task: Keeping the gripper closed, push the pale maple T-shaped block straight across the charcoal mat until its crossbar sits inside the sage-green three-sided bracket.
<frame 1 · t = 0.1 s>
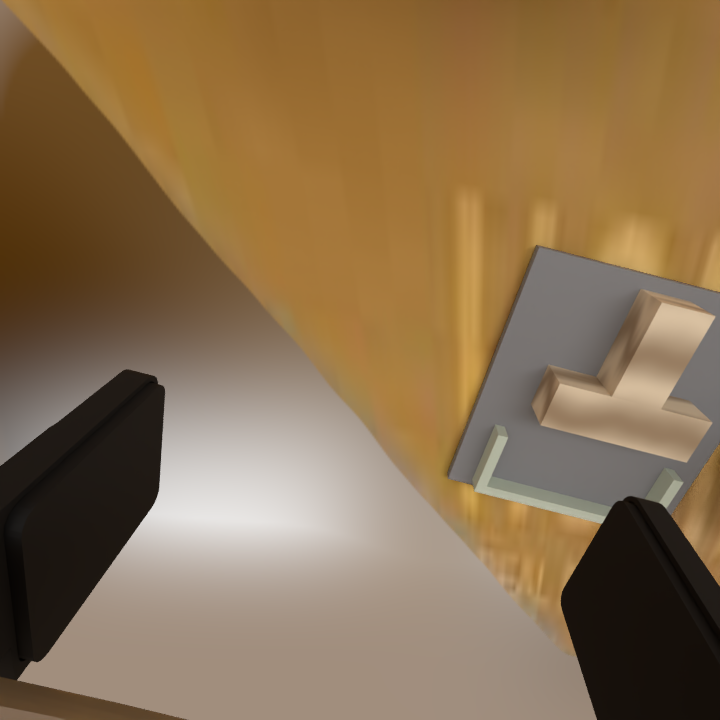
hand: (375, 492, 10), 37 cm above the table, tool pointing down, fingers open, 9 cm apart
t block: (629, 362, 45), point 1 cm above the table, touching mat
mat: (602, 401, 48), on the table
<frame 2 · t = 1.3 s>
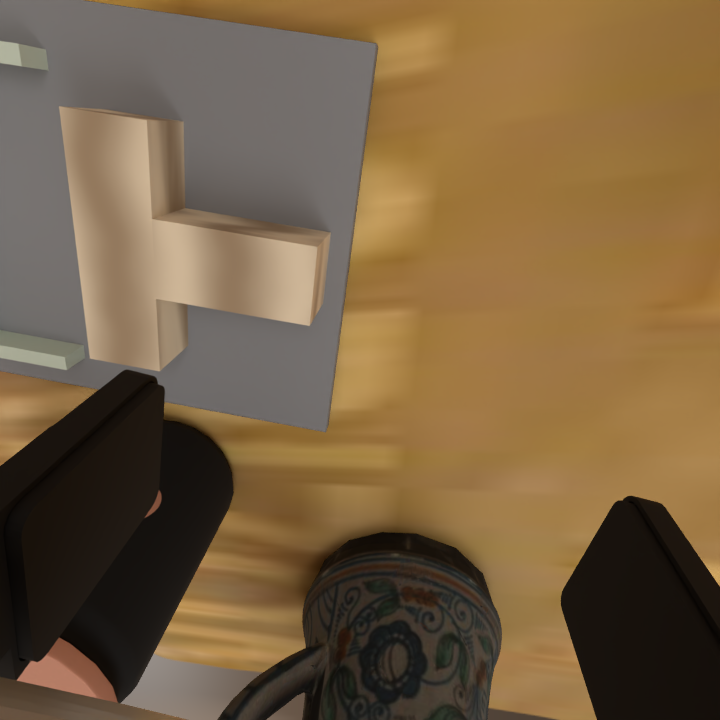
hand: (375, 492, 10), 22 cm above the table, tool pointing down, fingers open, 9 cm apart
t block: (220, 250, 30), point 1 cm above the table, touching mat
coffee jar: (177, 466, 40), on the table
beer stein: (384, 594, 43), on the table
mat: (152, 234, 31), on the table
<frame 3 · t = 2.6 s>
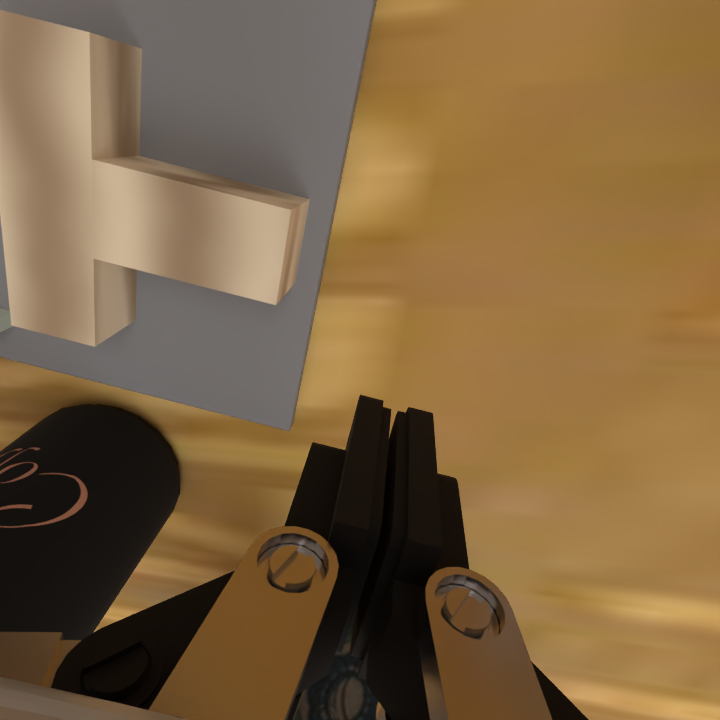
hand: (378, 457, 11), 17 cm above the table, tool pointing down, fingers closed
t block: (179, 211, 26), point 1 cm above the table, touching mat
coffee jar: (117, 459, 35), on the table
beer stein: (343, 613, 39), on the table
mat: (99, 186, 27), on the table
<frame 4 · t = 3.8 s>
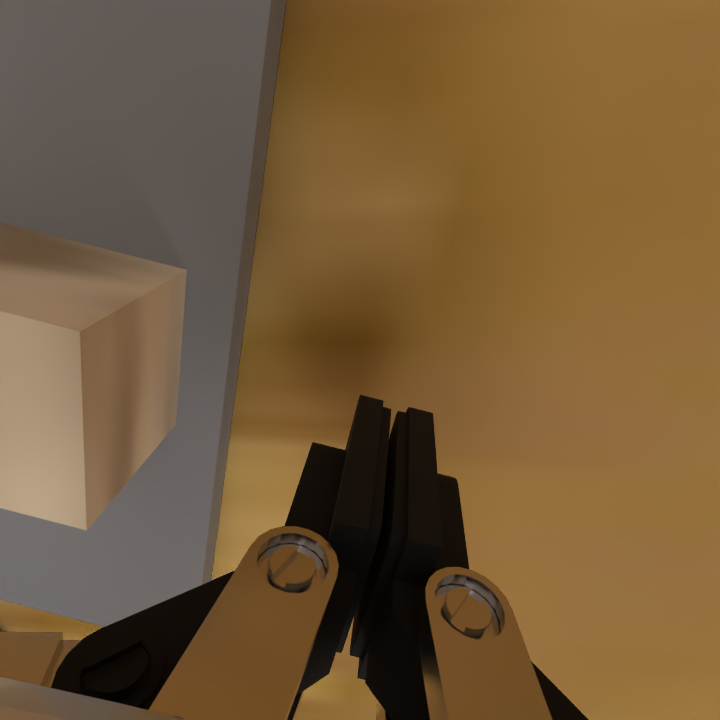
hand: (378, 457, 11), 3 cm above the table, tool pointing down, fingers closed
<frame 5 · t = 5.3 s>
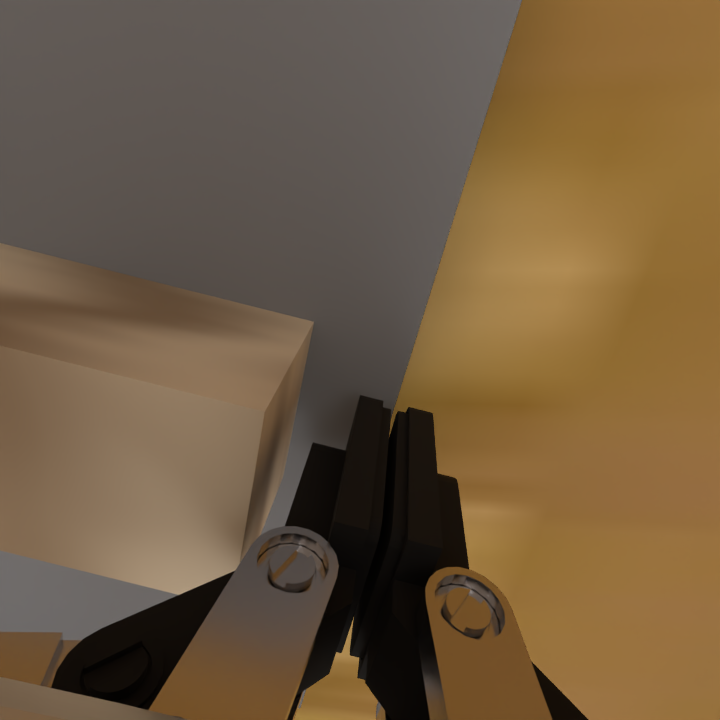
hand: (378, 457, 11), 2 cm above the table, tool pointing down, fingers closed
t block: (30, 338, 12), point 1 cm above the table, touching gripper, mat
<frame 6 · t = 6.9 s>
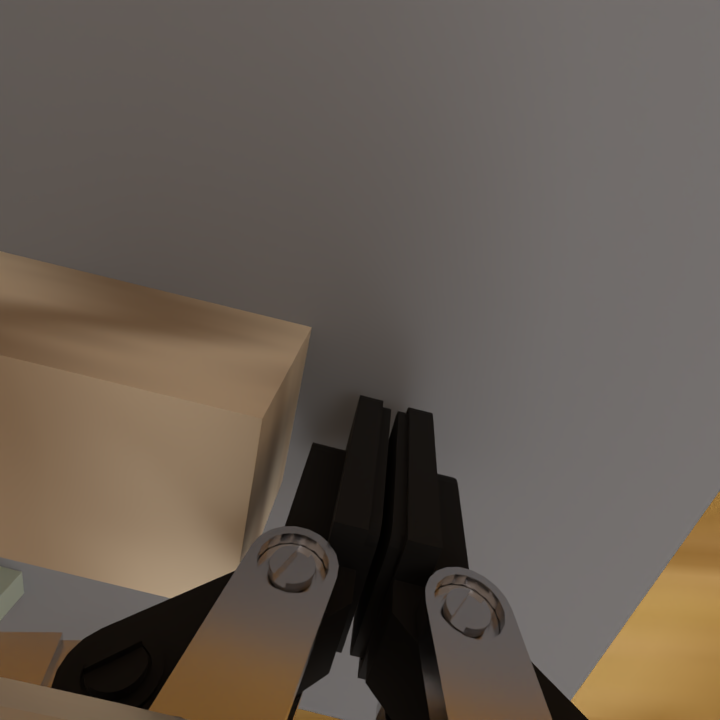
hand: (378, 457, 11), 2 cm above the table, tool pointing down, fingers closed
t block: (30, 345, 12), point 1 cm above the table, touching gripper, mat
mat: (211, 365, 13), on the table
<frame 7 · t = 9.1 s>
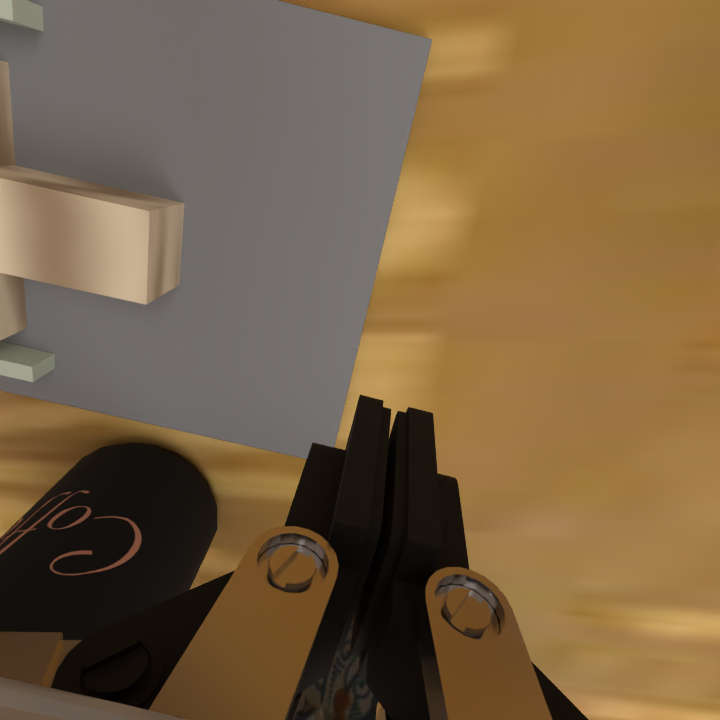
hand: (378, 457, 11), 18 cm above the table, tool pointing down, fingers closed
t block: (59, 218, 26), point 1 cm above the table, touching mat
coffee jar: (151, 496, 35), on the table
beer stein: (375, 642, 39), on the table
mat: (149, 232, 27), on the table
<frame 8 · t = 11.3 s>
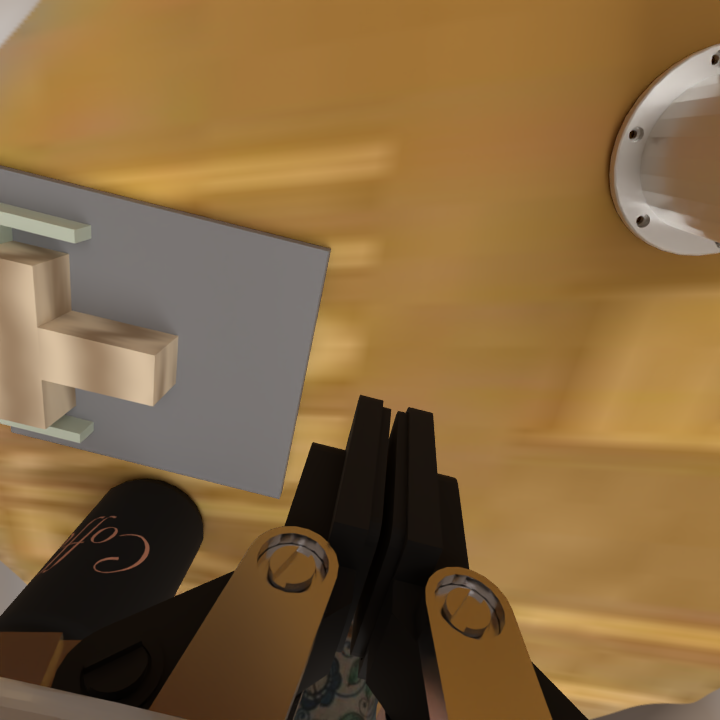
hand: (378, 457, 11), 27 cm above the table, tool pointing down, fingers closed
t block: (98, 341, 41), point 1 cm above the table, touching mat
coffee jar: (158, 514, 50), on the table
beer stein: (319, 621, 54), on the table
mat: (156, 348, 41), on the table
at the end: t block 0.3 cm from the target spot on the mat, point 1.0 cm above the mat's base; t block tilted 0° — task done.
